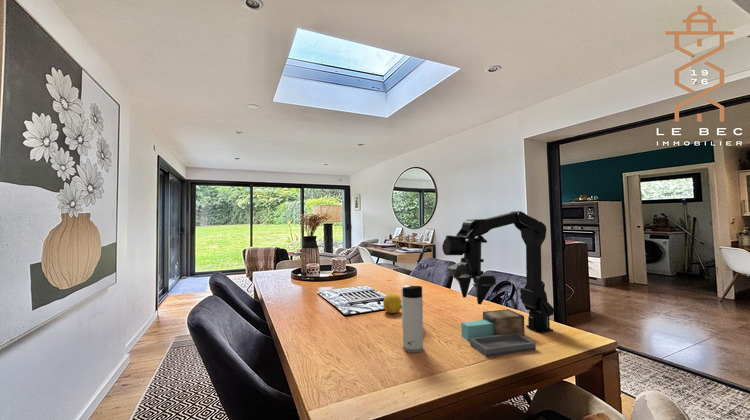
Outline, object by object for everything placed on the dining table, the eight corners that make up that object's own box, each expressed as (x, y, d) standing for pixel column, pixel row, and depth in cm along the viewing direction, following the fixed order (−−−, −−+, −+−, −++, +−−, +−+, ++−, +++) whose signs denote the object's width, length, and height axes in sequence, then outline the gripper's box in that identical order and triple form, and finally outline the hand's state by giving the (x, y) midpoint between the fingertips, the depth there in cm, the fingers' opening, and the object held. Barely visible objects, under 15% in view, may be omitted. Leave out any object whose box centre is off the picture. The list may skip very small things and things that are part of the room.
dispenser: (508, 328, 112) (508, 309, 112) (524, 336, 104) (524, 315, 105) (481, 331, 109) (481, 311, 109) (495, 339, 102) (495, 318, 102)
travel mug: (411, 355, 91) (410, 288, 91) (399, 347, 97) (398, 284, 97) (427, 350, 94) (426, 286, 94) (415, 343, 99) (414, 282, 100)
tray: (516, 339, 102) (516, 332, 102) (535, 349, 94) (535, 342, 94) (470, 345, 97) (470, 338, 97) (486, 357, 89) (486, 349, 89)
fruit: (381, 310, 135) (380, 292, 136) (398, 308, 137) (397, 291, 138) (386, 316, 127) (386, 297, 127) (404, 314, 129) (404, 296, 129)
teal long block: (491, 333, 108) (491, 319, 108) (498, 337, 104) (498, 322, 104) (461, 336, 105) (461, 322, 105) (467, 341, 101) (467, 326, 101)
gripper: (439, 252, 112) (438, 294, 111) (466, 258, 94) (465, 309, 93) (465, 252, 115) (464, 293, 114) (497, 258, 97) (496, 308, 96)
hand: (471, 300), depth 104 cm, fingers open, 9 cm apart
